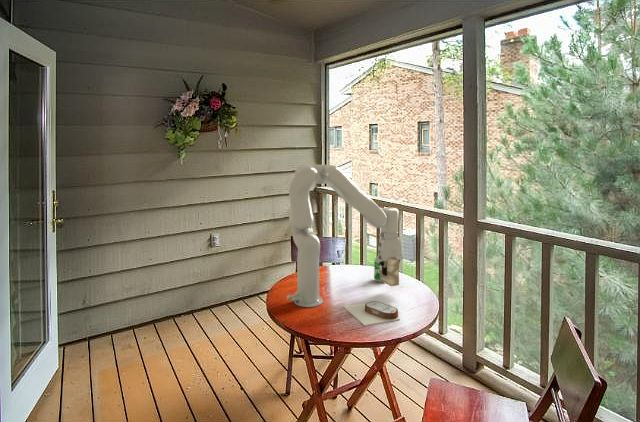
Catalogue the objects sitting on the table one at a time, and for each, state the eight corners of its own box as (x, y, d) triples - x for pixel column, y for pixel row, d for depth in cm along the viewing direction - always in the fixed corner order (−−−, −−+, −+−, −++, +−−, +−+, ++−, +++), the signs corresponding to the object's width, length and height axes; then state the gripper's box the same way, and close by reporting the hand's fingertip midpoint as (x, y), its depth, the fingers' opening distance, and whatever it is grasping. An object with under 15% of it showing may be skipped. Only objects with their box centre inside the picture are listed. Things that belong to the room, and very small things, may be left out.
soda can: (373, 278, 225) (373, 255, 223) (388, 278, 225) (388, 255, 222) (374, 283, 217) (375, 259, 215) (390, 283, 217) (390, 259, 215)
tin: (373, 305, 188) (360, 311, 182) (373, 298, 187) (360, 304, 181) (402, 315, 177) (389, 322, 171) (402, 308, 176) (389, 315, 171)
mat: (364, 326, 168) (364, 324, 168) (343, 307, 187) (343, 306, 187) (399, 320, 174) (399, 318, 174) (375, 302, 192) (375, 301, 192)
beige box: (391, 286, 194) (391, 260, 193) (380, 280, 204) (380, 255, 202) (398, 285, 196) (398, 259, 194) (387, 279, 205) (387, 254, 203)
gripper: (377, 238, 190) (376, 279, 193) (410, 235, 196) (409, 274, 199) (369, 235, 197) (368, 274, 200) (401, 231, 203) (400, 269, 206)
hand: (389, 274), depth 199 cm, fingers closed on beige box, 4 cm apart
